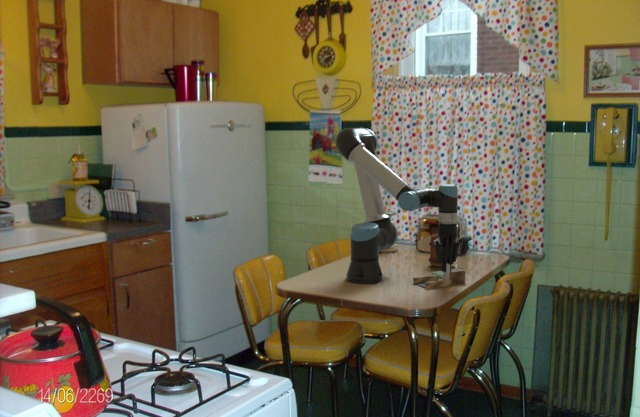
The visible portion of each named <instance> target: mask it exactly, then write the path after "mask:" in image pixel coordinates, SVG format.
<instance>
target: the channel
mask: <svg viewBox="0 0 640 417" xmlns="http://www.w3.org/2000/svg"><path fill="white" fill-rule="evenodd" d="M439 278H440V277H439V275H432V274H431V275H426V276H425V275H424V276H417V277H416V276H415V277H413V279H412V283H413V284H412V285H416V286H419V287H421V288H423V289H426V290H427V289H436V288H444V287H445V288H446V287H451V286H452V284H451V279H449V280H444V279H442V280H440V279H439Z"/></svg>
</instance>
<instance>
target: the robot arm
mask: <svg viewBox="0 0 640 417" xmlns="http://www.w3.org/2000/svg"><path fill="white" fill-rule="evenodd" d="M377 147H378V138H377V136H376V134H375V133H374V132H373V130H371V129H369V128H365V127H346V128H343V129H342V130H340V131H339V132H338V133H337V135H336V136H335V148H336V150H337V152H338V153H339V154H340V155H341V156H342V157H343V158H344V159H345V160H346V161H348V162H349V163H352V164H353V165H354V168H355V173H356V178H357V182H358V183H357V184H358V186H359V191H360V195H361V196H360V197H361V200H362V204H363V209H364V215H365V220H364V221H363V222H362V223H361V222H360V223H356V224H354V225H353V226H352V227H351V230H350V262H349V266H348V269H347V272H346V281H348V282H350V283H355V284H356V283H357V284H375V283H376V284H377V283H380V282H382V281H383V277H384V275H383V272H382V269H381V266H380V263H379V258H380V256H379V253H380V252H379V251H381V250H384V249H388V248H390V247H391V246H393V245H394V246H395V243H396V242H397V240H398V237H399V232H398V229H397V226H396V225H395V224H393V223H392V221H391V218H390V216H388V215H387V214H386V213H385V211H386V209H385V206H384V200H383V197H382V192H381V188H383V190H385V191H387V193H388V194H390V196H392V197H393V198H394V199H395V200H396V201H398V202H397V203H398V206H399V208H400V209H401V210H403V211H406V212H407V211H409V212H412V211H415V210H417V209H422V208H438V215H437V216H438V218H437V222H438V223H437V231H438V238H437V239H436V240H433V244H434V245H435V250H436V255H437V260H438V262H439V263H442V267H441V271H442V272H443V279H442V280H444V279H445V280H449V279H450V271H451V269H452V265H453V264H454V263H455V262H457V257H458V254H459V253H458V252H459V250H460V245H461V243H462V239H461V238H459V237H458V236H457V233H458V232H457V231H458V224H457V222H458V201H459V200H458V198H459V196H458V195H459V193H458V192H459V191H458V186H457V185H455V184H440V185H439V187H438V188H435V189H434V188H423V187H419V188H417V187H415V188H413V187H411V186H410V185H409V184H408V183H407V182H406V181H404V180H403V179H402V178H401V177H399V175H397V174H396V173H395V172H393V170H392V169H390V168H389V167H388V166H387V165H386V164H384V163H383V162H382V161H381V160H379V158H377V157H376V156H377V152H376V150H377ZM454 241H455V242H454ZM440 243H441V246H440ZM453 243H454V244H453ZM441 247H442V251H441Z"/></svg>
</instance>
